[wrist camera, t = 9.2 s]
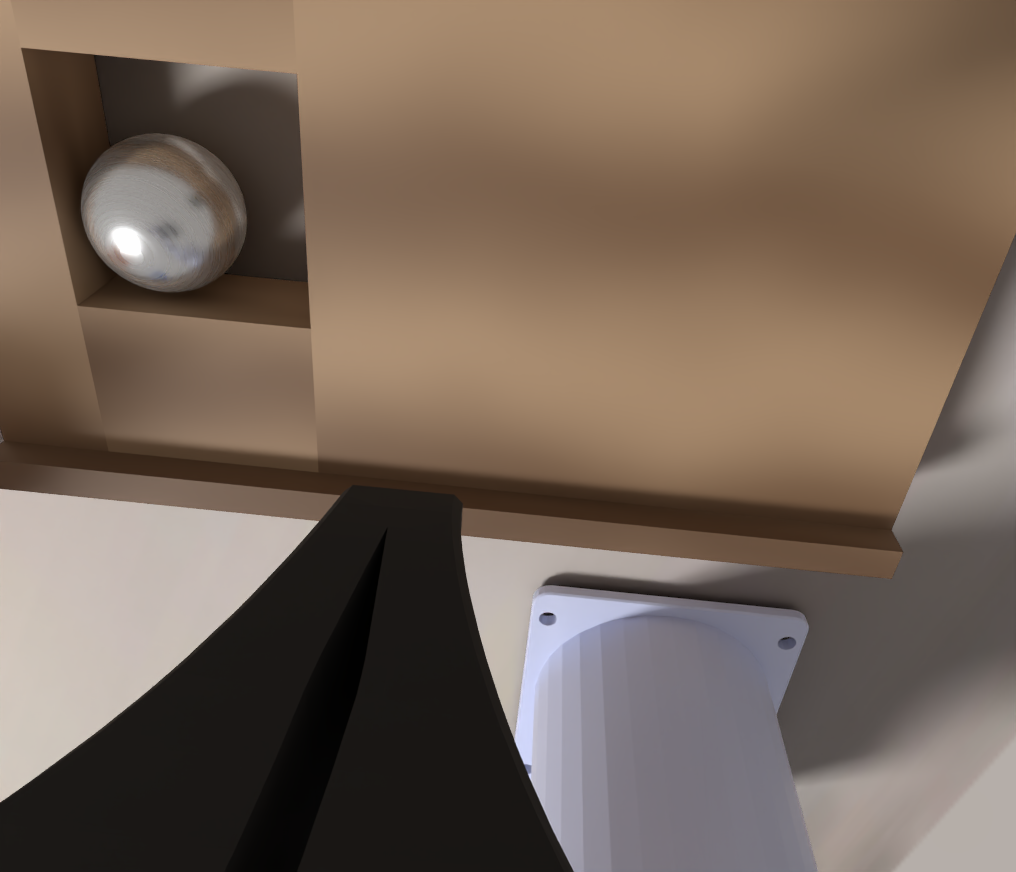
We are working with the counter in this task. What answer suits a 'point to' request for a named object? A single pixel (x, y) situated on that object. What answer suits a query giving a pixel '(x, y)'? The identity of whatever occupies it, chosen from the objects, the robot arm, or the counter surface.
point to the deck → (532, 267)
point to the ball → (164, 212)
